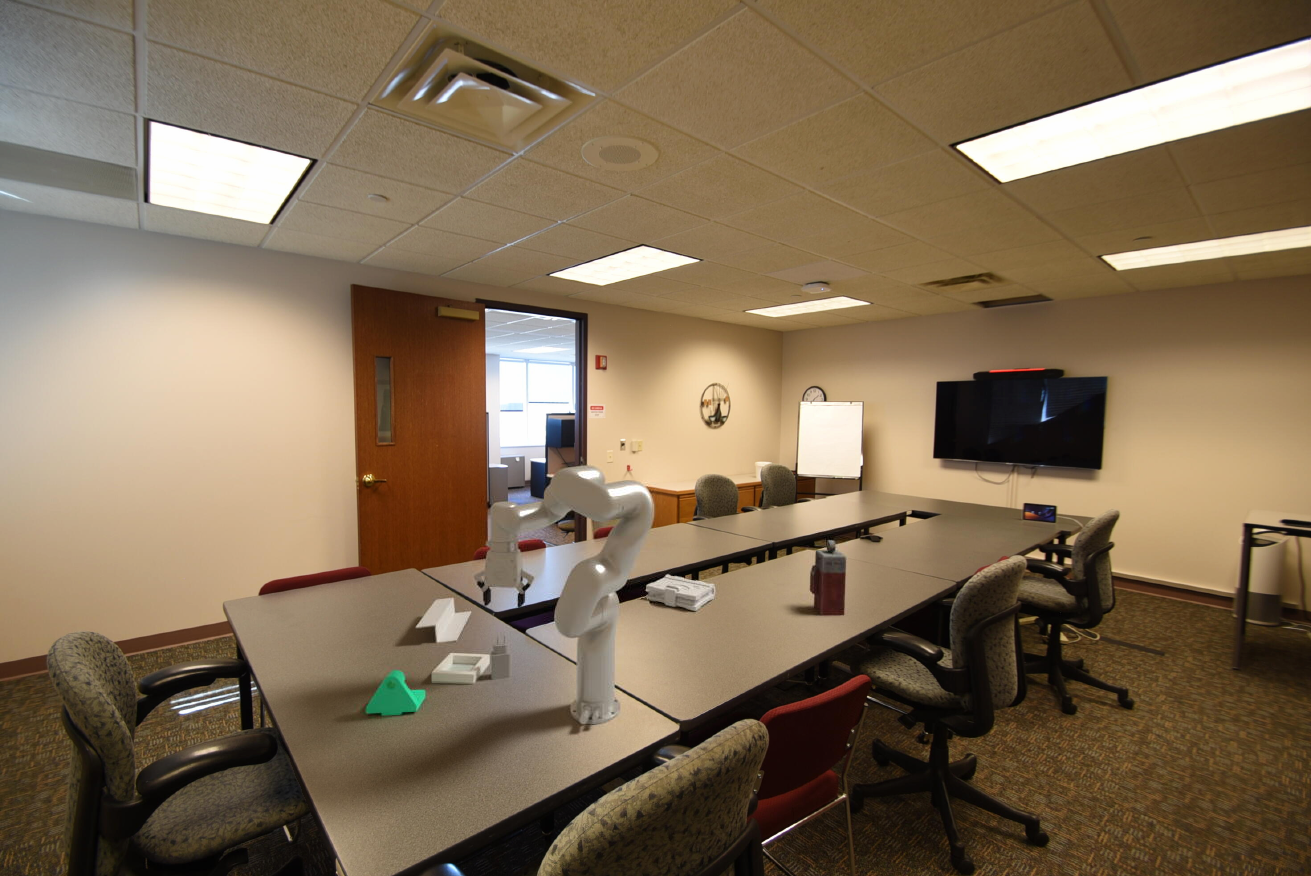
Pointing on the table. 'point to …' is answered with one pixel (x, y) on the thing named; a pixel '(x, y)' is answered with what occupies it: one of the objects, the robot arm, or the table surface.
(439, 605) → the z bracket
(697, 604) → the book
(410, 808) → the table surface
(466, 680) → the tray
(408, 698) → the camera mount
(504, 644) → the power adapter
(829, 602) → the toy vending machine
